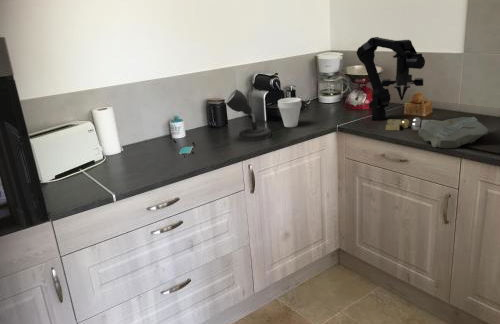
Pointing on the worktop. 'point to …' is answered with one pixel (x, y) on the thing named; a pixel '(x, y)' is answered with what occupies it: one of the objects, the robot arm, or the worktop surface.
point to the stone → (452, 132)
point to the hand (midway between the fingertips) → (401, 100)
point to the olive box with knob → (396, 124)
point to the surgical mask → (185, 149)
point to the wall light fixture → (241, 104)
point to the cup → (290, 111)
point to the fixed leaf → (418, 123)
